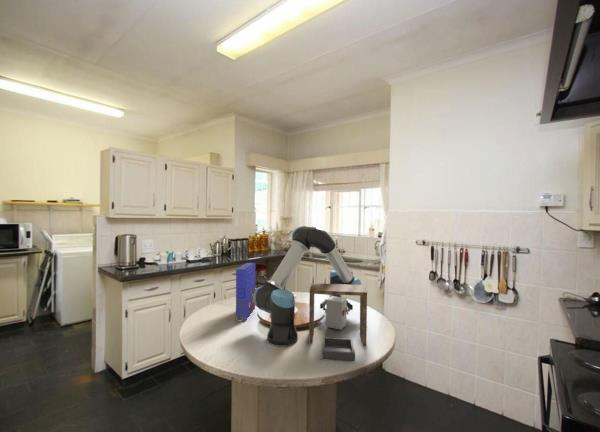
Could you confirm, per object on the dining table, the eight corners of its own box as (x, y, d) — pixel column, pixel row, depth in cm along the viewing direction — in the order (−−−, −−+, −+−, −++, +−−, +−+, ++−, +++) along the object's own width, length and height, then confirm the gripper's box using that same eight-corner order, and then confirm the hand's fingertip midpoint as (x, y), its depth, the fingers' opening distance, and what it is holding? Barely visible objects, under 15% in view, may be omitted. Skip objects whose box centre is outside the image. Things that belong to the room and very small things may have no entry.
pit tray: (321, 359, 121) (321, 351, 121) (322, 344, 135) (322, 337, 135) (354, 361, 120) (355, 353, 120) (352, 346, 134) (352, 338, 134)
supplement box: (341, 330, 149) (341, 302, 149) (325, 327, 153) (325, 299, 153) (346, 324, 157) (347, 297, 157) (331, 321, 161) (332, 295, 161)
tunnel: (309, 343, 136) (309, 290, 136) (310, 331, 150) (311, 283, 150) (366, 346, 133) (367, 292, 133) (362, 333, 147) (363, 285, 147)
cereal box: (246, 308, 185) (246, 262, 185) (255, 308, 185) (255, 262, 184) (235, 320, 163) (236, 269, 163) (245, 321, 163) (246, 269, 163)
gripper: (354, 306, 174) (358, 319, 152) (316, 304, 176) (315, 317, 155) (355, 294, 174) (358, 305, 152) (316, 292, 176) (315, 303, 154)
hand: (336, 311), depth 153 cm, fingers closed on supplement box, 11 cm apart
